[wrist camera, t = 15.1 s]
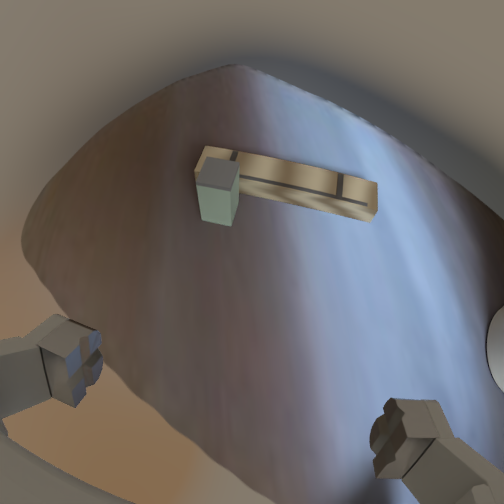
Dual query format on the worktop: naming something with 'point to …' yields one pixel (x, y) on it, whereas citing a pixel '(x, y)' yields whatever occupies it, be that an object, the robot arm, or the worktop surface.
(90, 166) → the worktop surface
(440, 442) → the robot arm
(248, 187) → the maple plank
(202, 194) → the post
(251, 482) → the worktop surface
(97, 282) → the worktop surface
